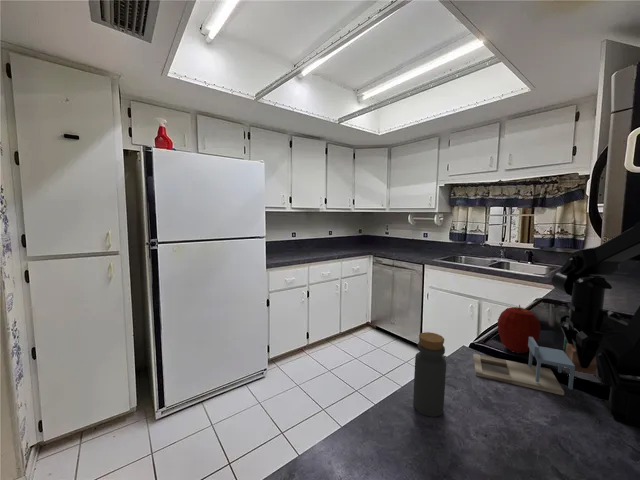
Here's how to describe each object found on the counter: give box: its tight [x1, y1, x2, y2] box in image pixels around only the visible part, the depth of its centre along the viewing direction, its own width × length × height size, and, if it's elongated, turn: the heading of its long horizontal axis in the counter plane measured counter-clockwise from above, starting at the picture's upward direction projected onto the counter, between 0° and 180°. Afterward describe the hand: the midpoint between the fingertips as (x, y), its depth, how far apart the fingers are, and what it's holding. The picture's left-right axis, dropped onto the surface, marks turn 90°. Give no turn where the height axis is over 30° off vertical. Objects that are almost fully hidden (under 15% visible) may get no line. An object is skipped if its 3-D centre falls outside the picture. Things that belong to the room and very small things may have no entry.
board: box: [472, 353, 565, 396], centre depth 70 cm, size 10×17×1 cm, turn 64°
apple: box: [497, 304, 542, 354], centre depth 81 cm, size 10×10×14 cm
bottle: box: [412, 331, 447, 418], centre depth 57 cm, size 6×6×15 cm
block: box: [565, 343, 597, 375], centre depth 70 cm, size 4×4×5 cm
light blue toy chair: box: [528, 337, 575, 391], centre depth 66 cm, size 8×7×8 cm
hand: (580, 363), depth 70 cm, fingers closed on block, 4 cm apart
